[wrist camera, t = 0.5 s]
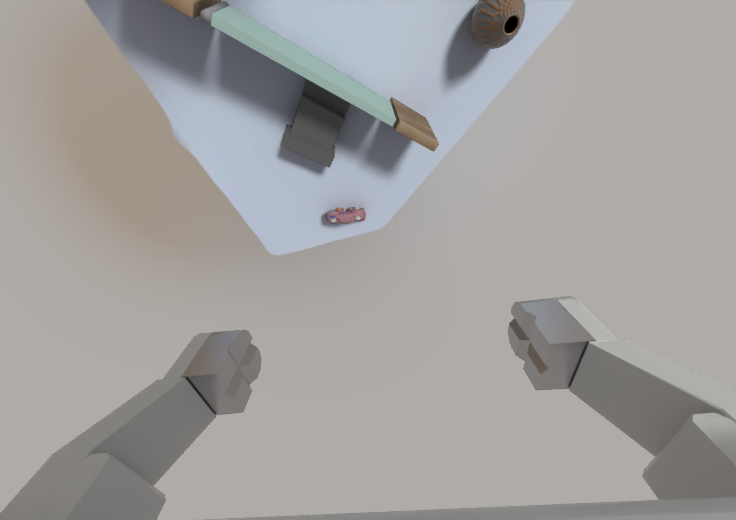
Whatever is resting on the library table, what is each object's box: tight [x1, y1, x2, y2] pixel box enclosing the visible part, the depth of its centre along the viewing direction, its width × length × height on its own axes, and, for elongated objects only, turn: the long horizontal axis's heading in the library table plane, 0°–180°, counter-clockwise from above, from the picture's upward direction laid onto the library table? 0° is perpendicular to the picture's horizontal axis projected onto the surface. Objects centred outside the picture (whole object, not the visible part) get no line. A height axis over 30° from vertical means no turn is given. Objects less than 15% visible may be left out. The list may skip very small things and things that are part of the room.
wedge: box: [280, 79, 350, 167], centre depth 50 cm, size 14×10×4 cm
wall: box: [161, 0, 439, 152], centre depth 40 cm, size 2×48×11 cm, turn 62°
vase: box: [471, 0, 525, 49], centre depth 39 cm, size 7×7×9 cm
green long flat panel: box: [200, 1, 396, 126], centre depth 40 cm, size 28×1×8 cm, turn 62°
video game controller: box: [326, 206, 366, 224], centre depth 67 cm, size 10×5×7 cm, turn 95°
